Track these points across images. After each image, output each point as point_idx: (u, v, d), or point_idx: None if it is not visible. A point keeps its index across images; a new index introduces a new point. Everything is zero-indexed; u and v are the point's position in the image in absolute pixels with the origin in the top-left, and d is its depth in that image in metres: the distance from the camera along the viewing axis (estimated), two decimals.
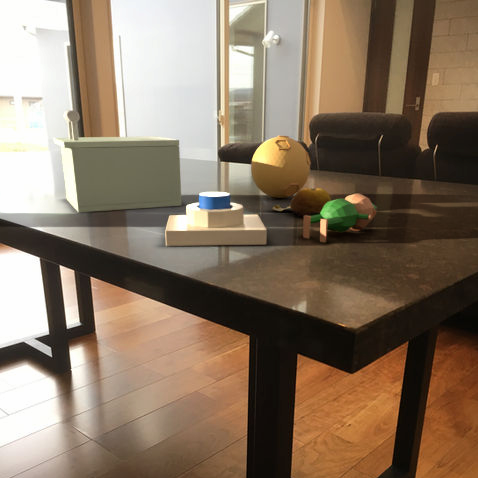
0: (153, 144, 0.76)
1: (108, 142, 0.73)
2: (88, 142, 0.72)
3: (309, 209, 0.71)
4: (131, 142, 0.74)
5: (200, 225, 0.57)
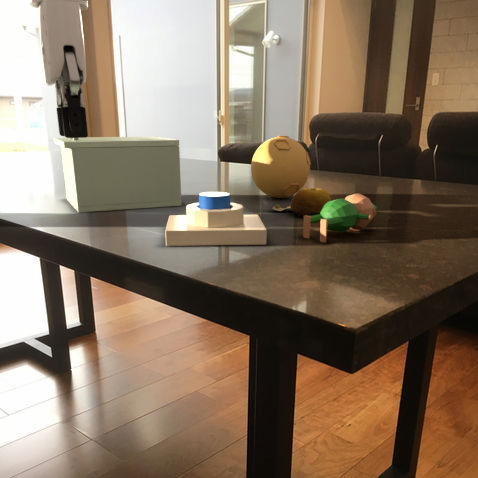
0: (153, 144, 0.76)
1: (108, 142, 0.73)
2: (88, 142, 0.72)
3: (309, 209, 0.71)
4: (131, 142, 0.74)
5: (200, 225, 0.57)
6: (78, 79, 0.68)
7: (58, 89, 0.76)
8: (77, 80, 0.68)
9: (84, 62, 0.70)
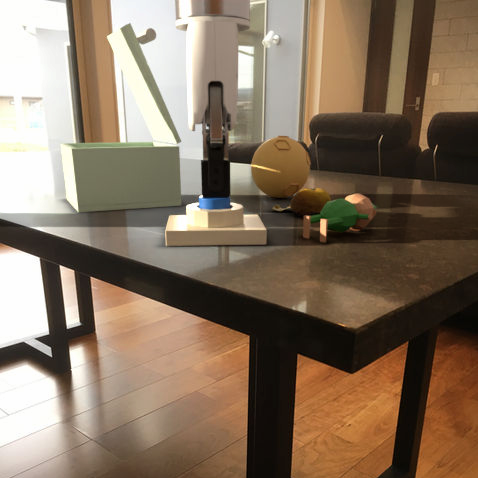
0: (167, 117, 0.75)
1: (149, 69, 0.72)
2: (140, 49, 0.71)
3: (309, 209, 0.71)
4: (159, 93, 0.74)
5: (200, 225, 0.57)
6: (221, 140, 0.52)
7: None
8: (219, 141, 0.52)
9: (235, 102, 0.51)
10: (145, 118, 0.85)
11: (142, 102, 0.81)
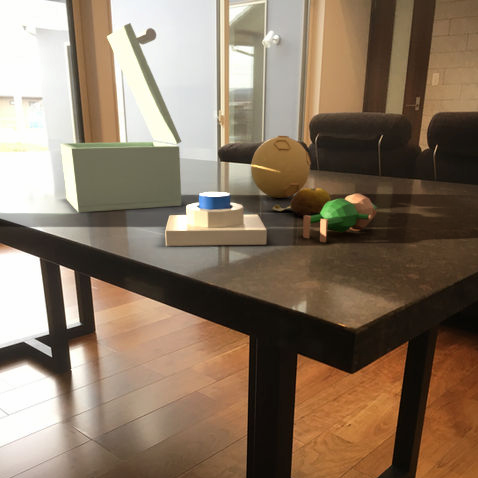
0: (167, 117, 0.75)
1: (149, 69, 0.72)
2: (140, 49, 0.71)
3: (309, 209, 0.71)
4: (159, 93, 0.74)
5: (200, 225, 0.57)
6: None
7: None
8: None
9: None
10: (145, 118, 0.85)
11: (142, 102, 0.81)
